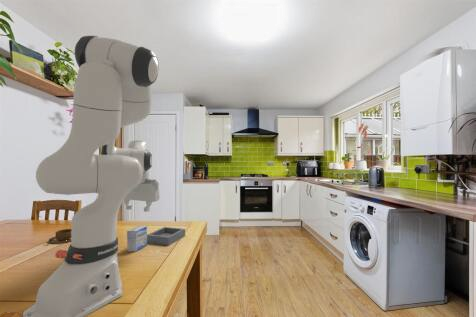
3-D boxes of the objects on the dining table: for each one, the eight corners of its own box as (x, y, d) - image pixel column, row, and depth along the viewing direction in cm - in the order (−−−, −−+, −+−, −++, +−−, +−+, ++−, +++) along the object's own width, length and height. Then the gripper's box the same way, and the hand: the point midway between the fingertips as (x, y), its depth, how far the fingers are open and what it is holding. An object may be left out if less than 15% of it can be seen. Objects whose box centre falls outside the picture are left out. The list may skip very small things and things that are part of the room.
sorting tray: (185, 235, 118) (185, 228, 118) (168, 245, 105) (168, 237, 105) (164, 233, 122) (164, 226, 122) (146, 242, 109) (146, 234, 109)
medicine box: (136, 252, 97) (136, 231, 98) (126, 251, 98) (126, 230, 98) (147, 245, 105) (147, 226, 105) (138, 244, 106) (138, 225, 106)
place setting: (81, 234, 123) (81, 222, 123) (97, 242, 110) (97, 230, 110) (38, 243, 109) (38, 230, 109) (50, 254, 97) (50, 239, 97)
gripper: (162, 179, 102) (162, 210, 102) (125, 176, 108) (124, 206, 108) (153, 180, 96) (152, 214, 96) (113, 178, 102) (113, 209, 102)
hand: (137, 210), depth 102 cm, fingers open, 8 cm apart
